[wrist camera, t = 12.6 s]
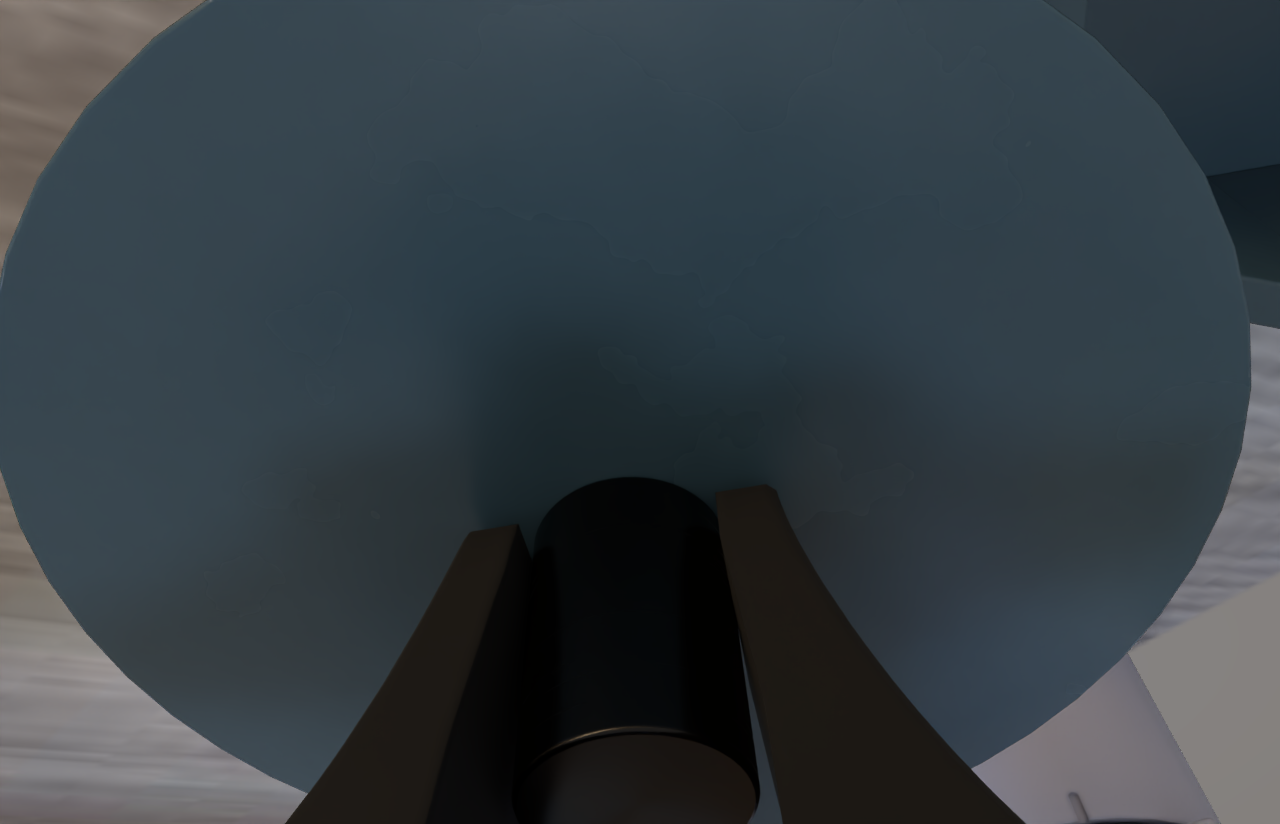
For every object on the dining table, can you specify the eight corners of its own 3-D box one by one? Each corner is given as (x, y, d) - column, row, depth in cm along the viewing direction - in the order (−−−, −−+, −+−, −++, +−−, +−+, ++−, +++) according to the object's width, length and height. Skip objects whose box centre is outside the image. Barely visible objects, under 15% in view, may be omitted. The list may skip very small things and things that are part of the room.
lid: (1130, 735, 16) (1280, 1032, 13) (319, 842, 18) (244, 1137, 14) (1339, -324, 8) (2002, -351, 4) (-277, 44, 9) (-881, 273, 5)
